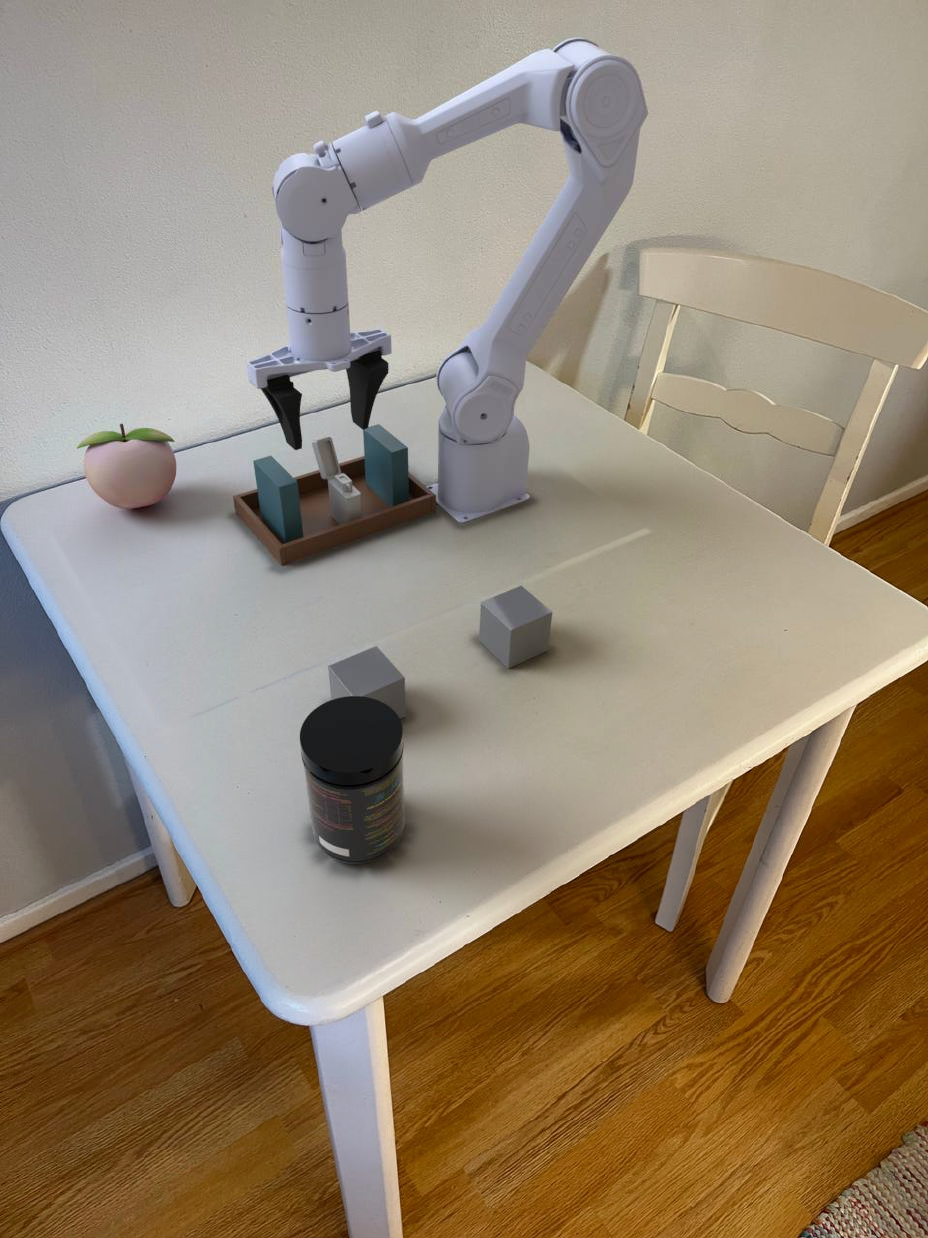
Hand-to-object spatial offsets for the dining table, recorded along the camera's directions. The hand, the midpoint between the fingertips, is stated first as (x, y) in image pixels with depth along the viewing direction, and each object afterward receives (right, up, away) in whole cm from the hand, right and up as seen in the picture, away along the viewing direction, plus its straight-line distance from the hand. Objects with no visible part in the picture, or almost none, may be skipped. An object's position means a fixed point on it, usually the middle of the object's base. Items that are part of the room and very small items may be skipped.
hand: (327, 434), depth 91 cm
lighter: (+1, -8, +5) cm, 9 cm away
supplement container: (+6, -34, -26) cm, 43 cm away
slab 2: (+5, -5, +8) cm, 11 cm away
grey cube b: (+6, -26, -17) cm, 32 cm away
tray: (0, -8, +5) cm, 9 cm away
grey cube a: (+18, -21, -10) cm, 30 cm away
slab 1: (-5, -9, +2) cm, 11 cm away
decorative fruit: (-21, -7, +5) cm, 22 cm away
